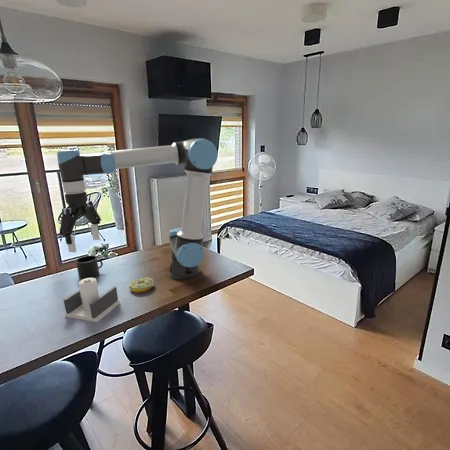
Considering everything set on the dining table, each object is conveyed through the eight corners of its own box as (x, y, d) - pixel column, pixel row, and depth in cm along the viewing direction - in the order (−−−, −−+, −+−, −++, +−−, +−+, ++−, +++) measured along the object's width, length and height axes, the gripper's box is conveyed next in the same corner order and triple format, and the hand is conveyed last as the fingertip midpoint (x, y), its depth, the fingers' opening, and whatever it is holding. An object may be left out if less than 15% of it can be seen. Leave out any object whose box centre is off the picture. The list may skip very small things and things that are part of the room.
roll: (103, 303, 127) (99, 277, 124) (92, 311, 122) (88, 285, 118) (90, 301, 129) (86, 276, 126) (79, 309, 124) (74, 283, 120)
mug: (107, 274, 158) (104, 257, 156) (82, 281, 151) (78, 264, 148) (101, 268, 165) (98, 252, 163) (76, 275, 158) (73, 258, 156)
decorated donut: (158, 287, 143) (158, 280, 142) (138, 296, 135) (137, 289, 134) (145, 281, 149) (144, 273, 148) (125, 289, 142) (124, 282, 141)
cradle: (120, 303, 130) (117, 286, 128) (97, 322, 117) (93, 304, 115) (90, 298, 135) (87, 282, 133) (65, 316, 122) (61, 299, 120)
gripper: (89, 186, 131) (97, 234, 137) (40, 199, 108) (52, 256, 114) (104, 186, 128) (112, 235, 134) (57, 199, 106) (69, 258, 112)
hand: (85, 245), depth 124 cm, fingers open, 13 cm apart
